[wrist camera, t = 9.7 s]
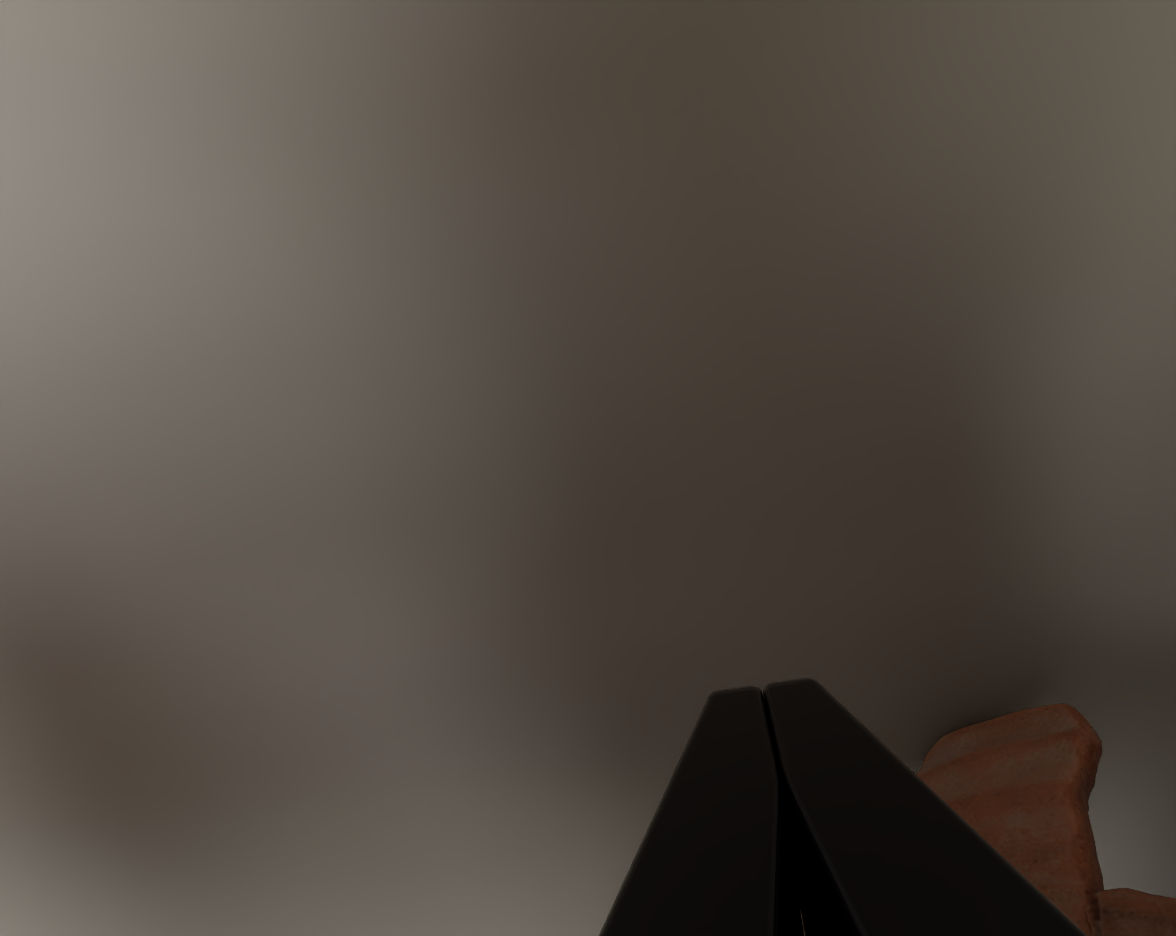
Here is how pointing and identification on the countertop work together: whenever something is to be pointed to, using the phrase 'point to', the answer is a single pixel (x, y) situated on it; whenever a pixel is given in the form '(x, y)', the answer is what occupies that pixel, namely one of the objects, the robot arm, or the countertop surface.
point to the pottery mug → (1042, 812)
